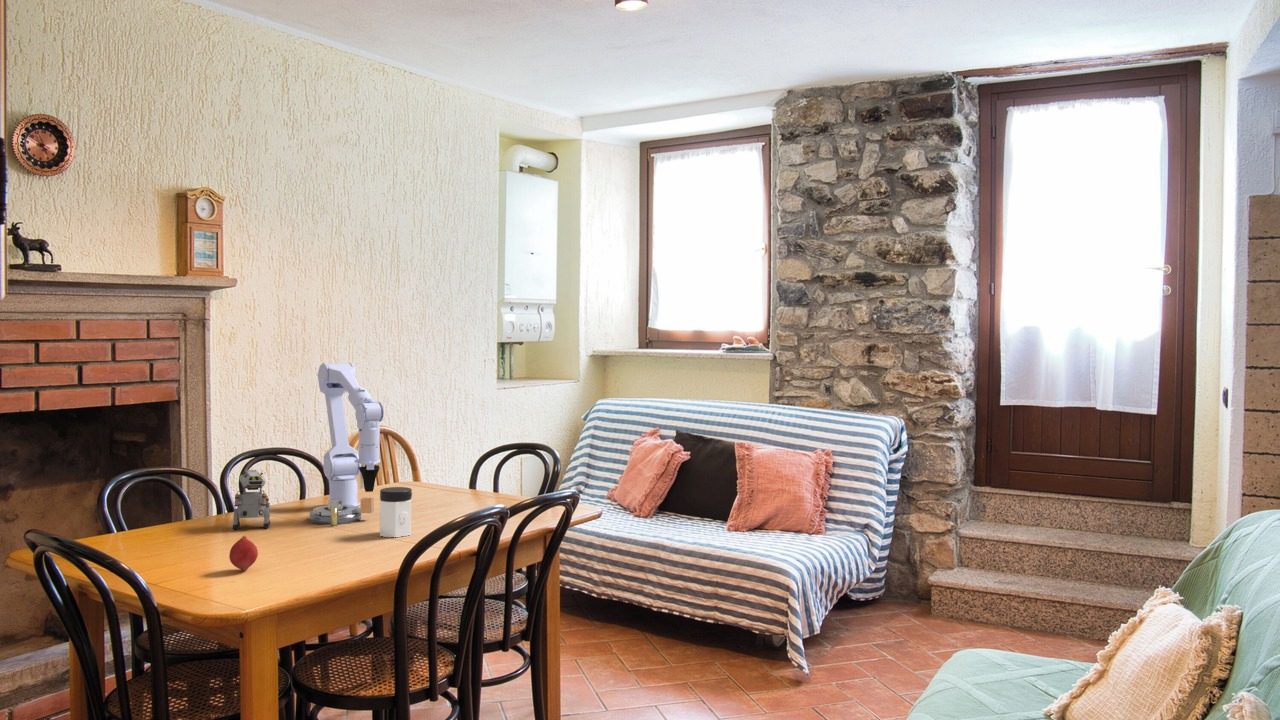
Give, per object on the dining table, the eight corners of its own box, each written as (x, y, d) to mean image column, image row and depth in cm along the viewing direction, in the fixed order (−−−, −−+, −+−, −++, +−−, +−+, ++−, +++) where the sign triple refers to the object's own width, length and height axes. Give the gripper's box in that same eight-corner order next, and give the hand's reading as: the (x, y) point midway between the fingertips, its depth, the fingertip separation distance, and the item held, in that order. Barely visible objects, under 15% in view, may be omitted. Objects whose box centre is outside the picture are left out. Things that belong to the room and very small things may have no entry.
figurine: (272, 521, 255) (273, 468, 255) (267, 530, 244) (267, 474, 244) (237, 522, 253) (238, 469, 253) (230, 531, 242) (230, 475, 242)
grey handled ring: (307, 515, 254) (307, 501, 253) (322, 507, 265) (322, 493, 265) (366, 516, 253) (366, 502, 253) (378, 508, 265) (378, 494, 265)
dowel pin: (332, 525, 252) (332, 507, 251) (337, 525, 252) (338, 507, 251) (330, 526, 250) (330, 508, 250) (335, 526, 250) (336, 508, 250)
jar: (387, 539, 236) (388, 493, 236) (372, 534, 242) (373, 489, 242) (418, 534, 242) (419, 489, 242) (403, 529, 248) (403, 485, 248)
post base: (320, 514, 266) (320, 495, 266) (367, 515, 266) (367, 496, 266) (301, 524, 252) (301, 504, 252) (351, 525, 252) (352, 505, 252)
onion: (224, 573, 201) (224, 537, 200) (237, 567, 206) (237, 532, 206) (250, 574, 200) (250, 538, 200) (262, 567, 206) (262, 532, 206)
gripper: (353, 441, 267) (353, 487, 268) (355, 447, 254) (355, 496, 254) (378, 441, 270) (378, 486, 270) (381, 447, 256) (381, 495, 256)
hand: (369, 491), depth 262 cm, fingers closed
